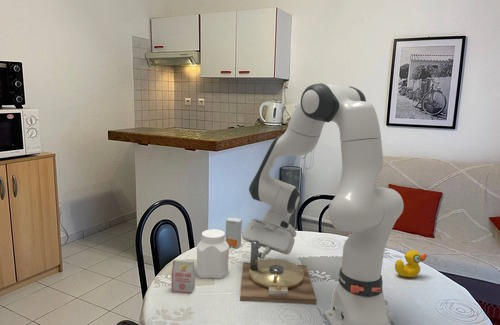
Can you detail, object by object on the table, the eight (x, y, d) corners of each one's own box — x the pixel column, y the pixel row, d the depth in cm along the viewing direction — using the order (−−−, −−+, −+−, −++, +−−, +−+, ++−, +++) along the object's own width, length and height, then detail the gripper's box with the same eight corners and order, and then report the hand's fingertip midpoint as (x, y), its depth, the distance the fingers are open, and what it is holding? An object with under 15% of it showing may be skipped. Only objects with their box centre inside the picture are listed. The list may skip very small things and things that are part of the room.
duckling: (419, 272, 138) (422, 248, 137) (427, 279, 133) (430, 253, 131) (391, 272, 137) (393, 248, 135) (398, 279, 132) (401, 254, 130)
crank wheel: (314, 283, 124) (316, 249, 121) (266, 294, 115) (268, 259, 113) (284, 260, 140) (285, 231, 138) (240, 269, 131) (241, 238, 129)
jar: (194, 278, 127) (195, 237, 125) (198, 265, 137) (199, 227, 134) (227, 279, 127) (228, 239, 125) (229, 267, 137) (230, 229, 134)
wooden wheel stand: (316, 304, 114) (317, 291, 113) (240, 300, 114) (240, 287, 113) (306, 269, 137) (306, 258, 137) (242, 266, 138) (243, 255, 137)
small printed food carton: (174, 286, 121) (174, 258, 120) (194, 287, 121) (195, 259, 119) (171, 291, 118) (171, 263, 116) (191, 293, 117) (192, 264, 115)
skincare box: (224, 246, 155) (225, 219, 153) (228, 242, 159) (229, 216, 157) (238, 248, 154) (239, 221, 152) (241, 245, 158) (242, 218, 156)
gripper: (248, 213, 139) (231, 245, 133) (295, 226, 127) (278, 262, 121) (255, 221, 143) (238, 252, 137) (300, 234, 131) (285, 269, 125)
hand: (258, 257), depth 129 cm, fingers closed
